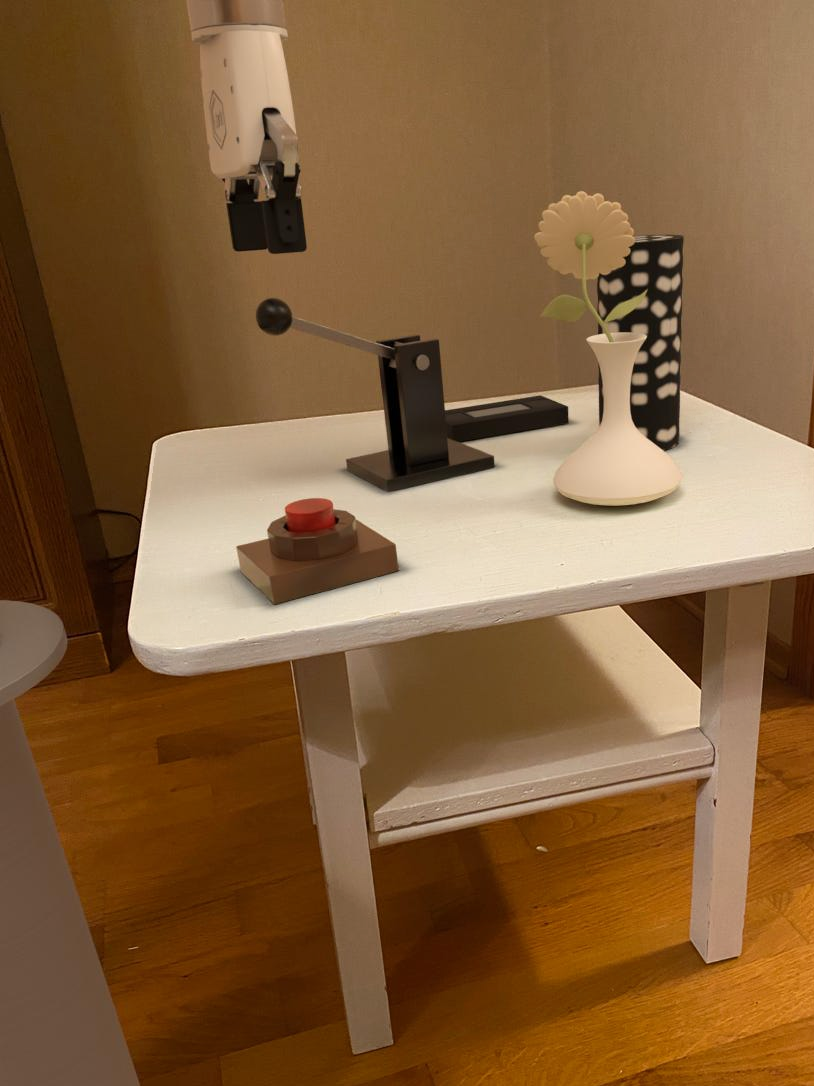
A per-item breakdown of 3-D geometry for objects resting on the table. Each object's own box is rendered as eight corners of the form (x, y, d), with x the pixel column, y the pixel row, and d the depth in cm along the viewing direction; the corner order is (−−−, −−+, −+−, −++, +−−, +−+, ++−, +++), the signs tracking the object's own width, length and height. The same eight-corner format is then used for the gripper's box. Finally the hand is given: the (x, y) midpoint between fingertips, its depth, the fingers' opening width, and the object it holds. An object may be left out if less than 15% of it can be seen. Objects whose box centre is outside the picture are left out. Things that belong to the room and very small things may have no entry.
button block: (274, 604, 69) (265, 553, 67) (240, 572, 75) (231, 524, 74) (399, 571, 73) (393, 521, 72) (357, 542, 80) (351, 496, 78)
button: (298, 539, 71) (294, 516, 70) (281, 526, 74) (277, 504, 73) (343, 528, 72) (340, 506, 71) (325, 516, 75) (322, 494, 74)
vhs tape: (430, 429, 113) (429, 412, 112) (541, 411, 117) (540, 395, 116) (453, 443, 106) (451, 425, 106) (568, 423, 111) (568, 406, 110)
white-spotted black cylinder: (598, 455, 98) (594, 245, 89) (600, 434, 106) (597, 238, 97) (680, 452, 97) (685, 239, 88) (677, 431, 104) (681, 232, 96)
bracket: (387, 492, 92) (372, 355, 86) (346, 470, 100) (329, 343, 94) (495, 467, 97) (486, 336, 91) (448, 448, 105) (437, 326, 99)
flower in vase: (701, 484, 87) (711, 181, 76) (651, 524, 79) (654, 189, 68) (573, 471, 94) (565, 190, 83) (514, 506, 85) (497, 198, 74)
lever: (258, 331, 84) (267, 294, 83) (247, 328, 86) (255, 291, 86) (424, 381, 93) (433, 348, 93) (409, 376, 96) (418, 344, 95)
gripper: (164, 35, 81) (199, 252, 88) (222, -4, 67) (258, 257, 75) (250, 37, 84) (277, 246, 92) (322, 0, 71) (347, 250, 78)
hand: (268, 251), depth 83 cm, fingers open, 9 cm apart
